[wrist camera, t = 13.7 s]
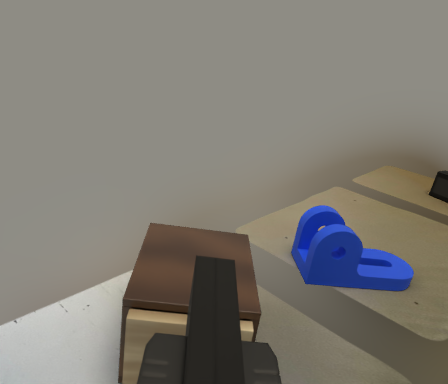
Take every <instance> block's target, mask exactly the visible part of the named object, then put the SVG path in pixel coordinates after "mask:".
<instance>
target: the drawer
mask: <svg viewBox="0 0 448 384" xmlns="http://www.w3.org/2000/svg"><path fill="white" fill-rule="evenodd" d="M187 314H188V313H184V312H174V311H165V310H155V309H146V308H140V310H139V309H129V312H128V315H127V318H126V332H125V348H124V364H123V380H122V384H137V381H138V376H139V372H140V368H141V363H142V359H143V355H144V350H145V346H146V344H147V343H148V341H149V340H150V339H151V338H152V336H153V335H154V334H155V333H164V334H174V335H183V336H185V334H186V324H187ZM240 328H241V340H242V341H250V342H251V341H252V337H253V332H254V330H253V322H252V321H244V320H241V318H240Z"/></svg>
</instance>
